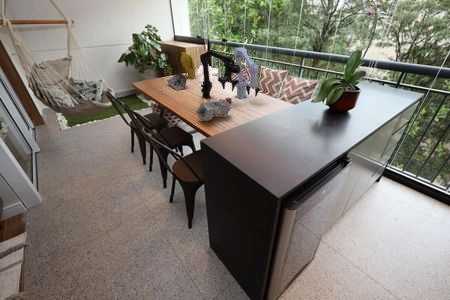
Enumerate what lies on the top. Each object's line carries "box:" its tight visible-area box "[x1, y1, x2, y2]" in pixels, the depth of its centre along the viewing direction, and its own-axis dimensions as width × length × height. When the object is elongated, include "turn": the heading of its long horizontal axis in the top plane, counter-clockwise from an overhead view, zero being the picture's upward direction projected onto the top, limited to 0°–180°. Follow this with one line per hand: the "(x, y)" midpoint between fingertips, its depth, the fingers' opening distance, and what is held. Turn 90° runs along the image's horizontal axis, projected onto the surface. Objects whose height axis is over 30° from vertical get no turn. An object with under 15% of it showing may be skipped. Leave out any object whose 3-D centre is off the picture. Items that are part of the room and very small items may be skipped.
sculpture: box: [180, 51, 196, 79], centre depth 254 cm, size 20×27×30 cm
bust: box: [195, 98, 232, 123], centre depth 155 cm, size 17×17×28 cm
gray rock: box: [166, 72, 188, 91], centre depth 228 cm, size 19×8×30 cm
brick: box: [224, 97, 232, 105], centre depth 187 cm, size 5×4×4 cm
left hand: (228, 90), depth 181 cm, fingers open, 9 cm apart
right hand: (252, 95), depth 184 cm, fingers open, 7 cm apart
